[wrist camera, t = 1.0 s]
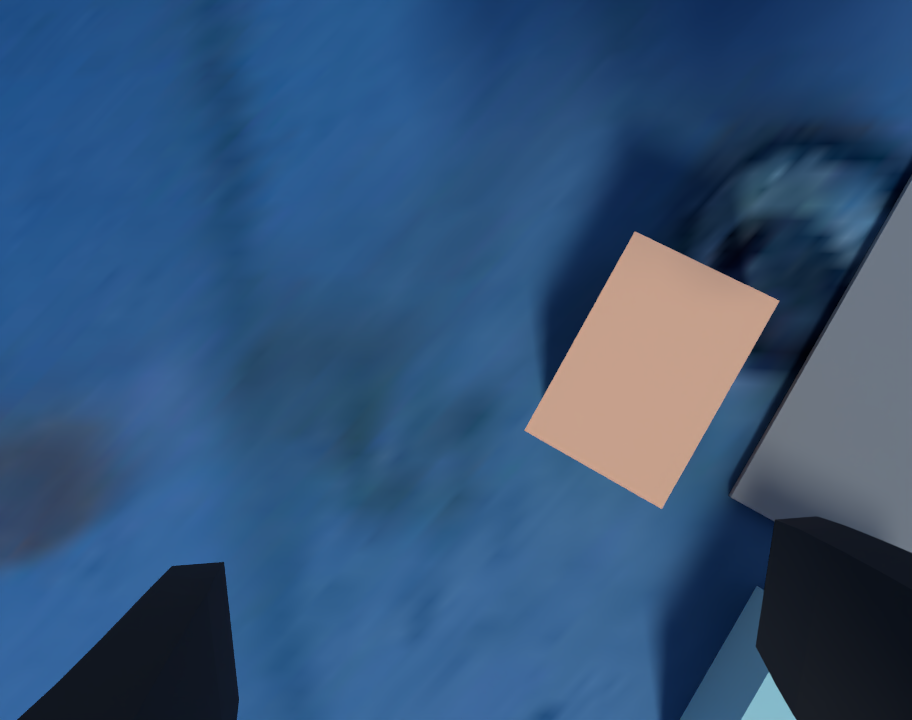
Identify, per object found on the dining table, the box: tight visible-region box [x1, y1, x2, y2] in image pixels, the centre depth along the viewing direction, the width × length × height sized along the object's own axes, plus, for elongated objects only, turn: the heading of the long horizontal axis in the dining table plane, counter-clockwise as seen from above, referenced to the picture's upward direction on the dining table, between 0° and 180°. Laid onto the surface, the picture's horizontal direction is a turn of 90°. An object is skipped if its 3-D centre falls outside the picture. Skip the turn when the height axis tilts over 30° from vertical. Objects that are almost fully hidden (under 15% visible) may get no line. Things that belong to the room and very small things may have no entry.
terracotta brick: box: [524, 232, 779, 509], centre depth 22 cm, size 4×6×5 cm, turn 151°
